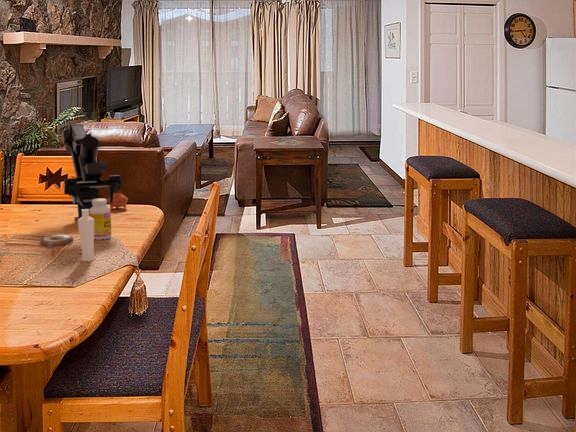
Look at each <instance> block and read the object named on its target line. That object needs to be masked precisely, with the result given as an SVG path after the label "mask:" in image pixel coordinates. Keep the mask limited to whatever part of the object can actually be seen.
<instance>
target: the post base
mask: <svg viewBox="0 0 576 432" xmlns="http://www.w3.org/2000/svg"><path fill="white" fill-rule="evenodd" d="M71 242H72V243H73V242H74V236H73V235H71V234H67V233H66V232H61V233H58V234H51V235H50V234H49V235H46V236H42V237H41V238H40V239H39V243H40V245H41V246H45V247H47V248H49V249H50V248H53V247H59V246H66V245H69V243H70V244H72V243H71Z"/></svg>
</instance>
